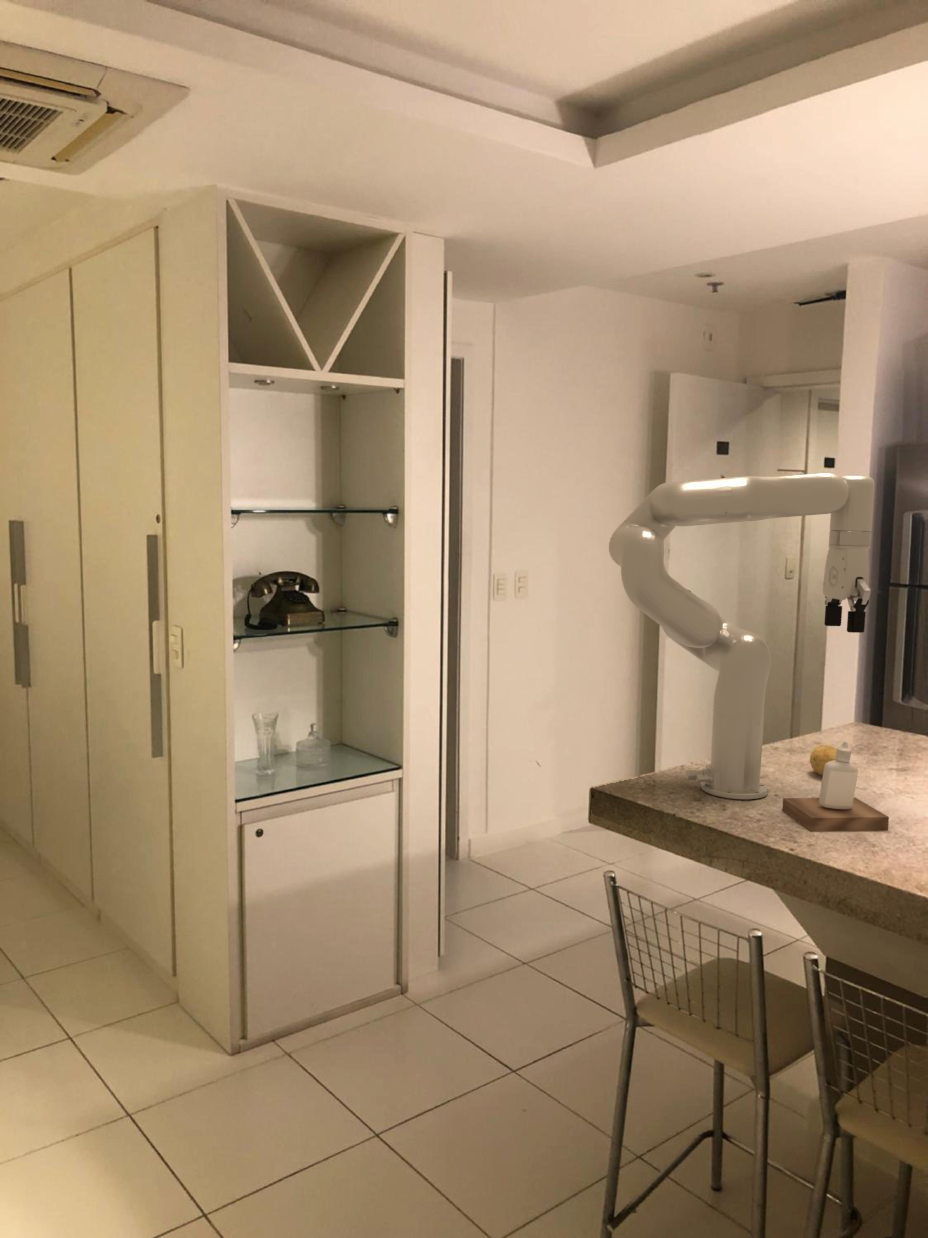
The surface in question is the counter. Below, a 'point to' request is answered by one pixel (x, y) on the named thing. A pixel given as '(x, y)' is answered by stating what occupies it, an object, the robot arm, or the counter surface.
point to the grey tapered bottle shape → (839, 781)
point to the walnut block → (835, 816)
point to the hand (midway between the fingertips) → (843, 629)
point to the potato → (822, 757)
